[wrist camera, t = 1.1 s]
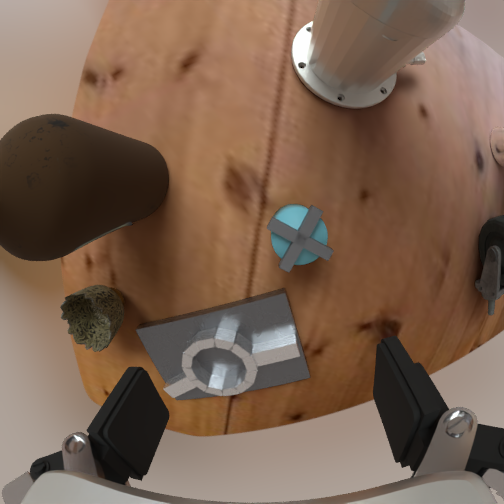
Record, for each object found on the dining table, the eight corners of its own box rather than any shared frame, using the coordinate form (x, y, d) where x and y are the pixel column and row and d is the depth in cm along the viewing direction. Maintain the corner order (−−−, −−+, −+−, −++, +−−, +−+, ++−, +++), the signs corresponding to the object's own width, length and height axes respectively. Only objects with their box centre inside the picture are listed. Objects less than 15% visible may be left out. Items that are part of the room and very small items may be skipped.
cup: (145, 321, 34) (118, 353, 26) (104, 323, 35) (75, 351, 27) (128, 268, 32) (94, 292, 24) (87, 275, 33) (52, 297, 25)
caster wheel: (466, 218, 28) (471, 315, 30) (512, 223, 19) (507, 339, 21) (490, 210, 28) (493, 303, 30) (533, 214, 18) (530, 323, 20)
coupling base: (284, 287, 31) (286, 302, 27) (309, 370, 34) (312, 389, 30) (139, 324, 34) (127, 339, 30) (179, 393, 37) (172, 411, 33)
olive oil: (105, 136, 28) (-75, 117, 4) (181, 139, 28) (-18, 72, 4) (95, 218, 31) (-75, 281, 7) (168, 231, 31) (-15, 343, 6)
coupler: (309, 198, 29) (321, 203, 22) (321, 241, 30) (335, 258, 23) (265, 211, 29) (263, 220, 23) (278, 254, 30) (281, 275, 24)
